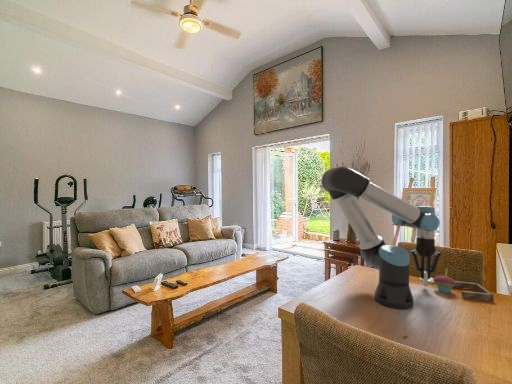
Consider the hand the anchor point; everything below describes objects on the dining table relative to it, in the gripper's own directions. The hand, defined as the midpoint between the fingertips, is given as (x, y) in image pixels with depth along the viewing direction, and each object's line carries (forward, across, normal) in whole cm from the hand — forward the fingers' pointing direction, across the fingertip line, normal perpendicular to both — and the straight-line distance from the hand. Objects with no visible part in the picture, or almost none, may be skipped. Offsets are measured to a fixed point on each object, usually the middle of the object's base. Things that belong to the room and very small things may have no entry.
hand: (425, 285), depth 128 cm
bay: (+2, +18, 0) cm, 18 cm away
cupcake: (+2, +8, 0) cm, 8 cm away
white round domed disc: (+2, +5, +13) cm, 14 cm away
